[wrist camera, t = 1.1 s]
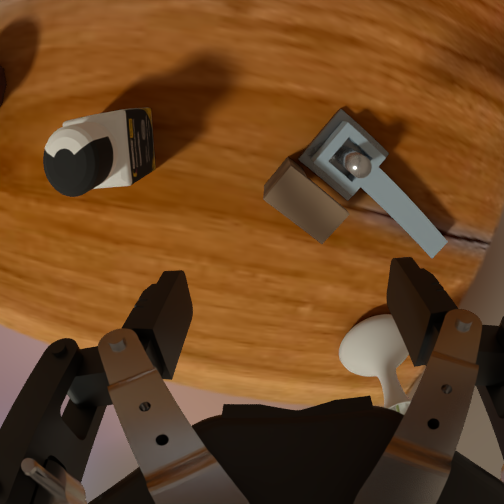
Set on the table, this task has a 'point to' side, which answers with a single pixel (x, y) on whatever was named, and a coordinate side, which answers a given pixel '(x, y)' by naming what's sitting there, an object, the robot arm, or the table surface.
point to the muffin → (2, 84)
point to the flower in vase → (377, 356)
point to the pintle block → (341, 153)
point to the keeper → (303, 201)
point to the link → (379, 188)
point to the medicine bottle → (100, 151)
